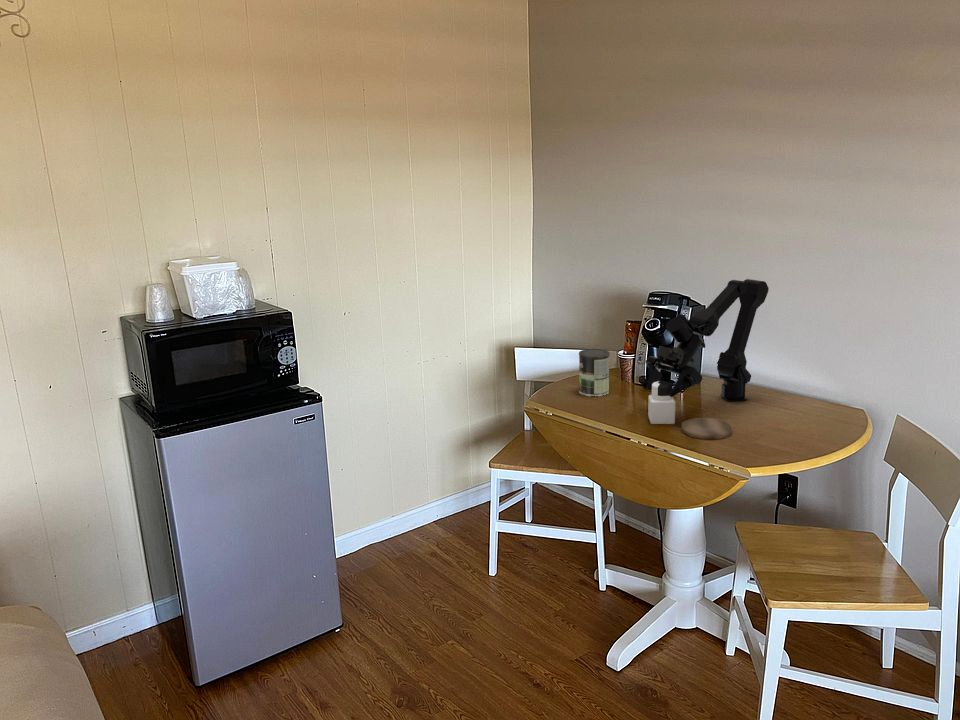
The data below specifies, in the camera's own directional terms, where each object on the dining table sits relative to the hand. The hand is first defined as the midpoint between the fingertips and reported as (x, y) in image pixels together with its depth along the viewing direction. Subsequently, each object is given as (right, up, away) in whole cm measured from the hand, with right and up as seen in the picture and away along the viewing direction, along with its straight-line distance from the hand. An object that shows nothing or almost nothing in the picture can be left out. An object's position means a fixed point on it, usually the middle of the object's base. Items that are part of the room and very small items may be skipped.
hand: (658, 392), depth 229 cm
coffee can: (-15, -1, +32) cm, 35 cm away
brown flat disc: (+12, -11, -7) cm, 18 cm away
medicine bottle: (+2, -9, +3) cm, 9 cm away
